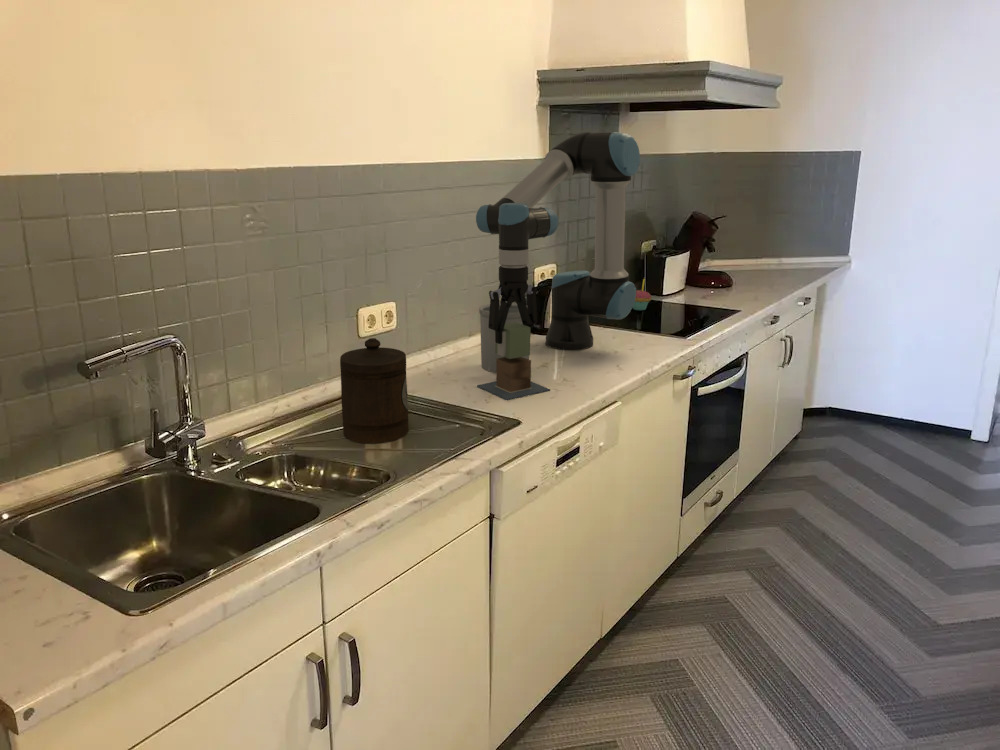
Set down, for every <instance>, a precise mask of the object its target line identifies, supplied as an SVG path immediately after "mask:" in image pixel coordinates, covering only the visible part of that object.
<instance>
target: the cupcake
mask: <svg viewBox="0 0 1000 750" xmlns="http://www.w3.org/2000/svg"><path fill="white" fill-rule="evenodd" d="M645 281H646V277H645V276H644V277H643V279H642V283H641V284H642V285H641V286H642V287H641V289H638V290H637V289H636V298H635V302H634V305H633V308H632V309H633V310H634V311H646V309H647V307H648V305H649V303H650V301H652V295H651V294H650V293H649V292H648V291H646V290H644V289H645Z"/></svg>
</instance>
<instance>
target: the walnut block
mask: <svg viewBox="0 0 1000 750" xmlns="http://www.w3.org/2000/svg"><path fill="white" fill-rule="evenodd" d="M496 367H497V373H496V381H497V386H498V387H500V388H503V389H505V390H507V391H509V392H513V391H518V390H523V389H527V388H531V381H532V378H531V377H532V360H531V359H529V360H528V359H526V358H523V357H517V358H512V359H509V358H506V357H503V358H498V359H496Z"/></svg>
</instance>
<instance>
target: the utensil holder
mask: <svg viewBox="0 0 1000 750" xmlns="http://www.w3.org/2000/svg"><path fill="white" fill-rule="evenodd" d="M500 305H501V304H500V302H499V309H500ZM526 306H527V304H526ZM489 311H490V303H487V304H483V305H481V306H479V308H478V312H479V313H478V314H479V315H480V359H481V360H480V361H481V368H482V369H483V370H485V371H487V372H492V373H496V374H497V367H496V359H498V358H503V356H501V355H498V354H496V353H495V330H492V329H489V327H488V325H489ZM515 322H516V323H519V324H522V325H523V323H522V320H521V316H520V313H519V309H518V306H517V303H516V302H513V303H512V305H511V306H510V308H509V311H508V315H507V318H506V322H505V324H508V323H515ZM523 358H526V359H528V360H530V355H528V356H523Z"/></svg>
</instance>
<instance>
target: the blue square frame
mask: <svg viewBox="0 0 1000 750" xmlns="http://www.w3.org/2000/svg"><path fill="white" fill-rule="evenodd" d="M476 387H477V388H479V389H481V390H483V391H485V390H486V391H485V392H487V391H488V393H489V392H490V394H491V393H492V395H494V396H496V397H498V398H501V400H505V401H506V400H507V401H510V400H516V399H519V397H520V398H523V397H524V396H525V397H527V396H528V395H529V396H532V395H537V394H541V393H546V392H547V393H548V392H550V391H551V388H547V387H546V386H544V385H541V384H539V383H536V382H534V381H532V380H531V388H527V389H523V390H518V391H513V392H509V391H507V390H505V389H503V388H500V387H498V386H497V380H495V381H490V382H486V383H481V384H477V385H476ZM515 398H516V399H515Z"/></svg>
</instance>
